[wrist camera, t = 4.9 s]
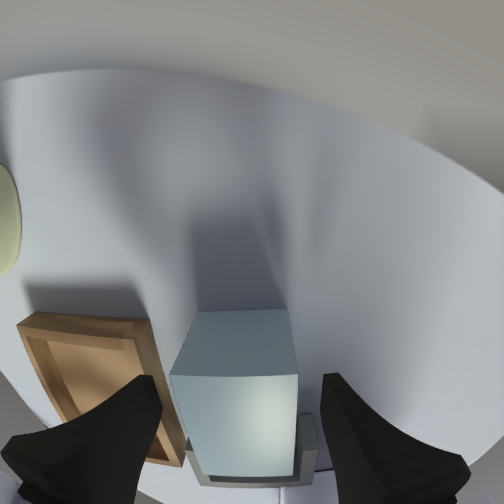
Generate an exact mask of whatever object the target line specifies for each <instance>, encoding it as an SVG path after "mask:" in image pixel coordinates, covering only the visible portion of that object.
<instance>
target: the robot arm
mask: <svg viewBox="0 0 504 504" xmlns="http://www.w3.org/2000/svg"><path fill="white" fill-rule="evenodd" d="M162 411H163V406H162V403H161V400H160V397H159V394H158V391H157V388H156V385H155V382H154V379H153V376H152V375H143V374H140V375H138V376H137V377H135V378H134V379H133V380H131V381H130V382H129V383H128V384H126V385H125V386H124V387H122V388H121V389H120V390H118V391H117V392H116V393H114V394H113V395H112V396H110V397H109V398H108V399H106V400H105V401H103V402H102V403H100V404H99V405H97V406H96V407H94V408H93V409H91V410H90V411H88V412H86V413H84V414H83V415H81V416H79V417H77V418H75V419H73V420H71V421H68V422H66V423H63V424H61V425H58V426H56V427H53V428H50V429H47V430H43V431H39V432H35V433H30V434H23V435H16V436H12V438H11V439H10V440H9V442H8V443H7V444H6V446H5V447H4V448H3V449H2V451H1V452H0V453H1V456H2V458H3V459H4V461H5V462H6V463H7V464H8V466H9V467H10V468H11V469H12V470H13V471H14V472H15V473H16V474H17V475H18V476H19V477H20V478H21V479H22V481H24V482H23V483H22V485H20V484H19V483H18V482H17V481H15V480H14V479H12V478H11V477H10V476H8V475H7V474H5V473H4V472H2V471H0V504H134V500H135V495H136V490H137V485H138V481H139V477H140V473H141V470H142V467H143V464H144V461H145V459H146V456H147V454H148V452H149V449H150V447H151V444H152V442H153V440H154V437H155V435H156V432H157V430H158V427H159V424H160V420H161V416H162ZM320 412H321V419H322V426H323V431H324V434H325V438H326V442H327V445H328V449H329V453H330V456H331V460H332V464H333V467H334V470H330V471H323V472H315V473H314V477H313V482H312V485H307V486H297V487H282V488H280V504H456V503H457V499H456V497H455V495H456V493H457V492H458V491H459V490H460V489H461V488H462V487H463V486H464V485H465V484H466V483H467V481H468V480H469V478H470V476H471V472H470V470H469V468H468V466H467V464H466V462H465V461H464V459H463V458H462V456H461V455H458V454H455V453H451V452H448V451H444V450H441V449H438V448H435V447H433V446H430V445H428V444H425V443H423V442H421V441H419V440H417V439H415V438H413V437H411V436H409V435H407V434H406V433H404V432H402V431H401V430H399V429H397V428H396V427H394V426H393V425H392V424H390V423H389V422H387V421H386V420H385V419H384V418H382V417H381V416H380V415H379V414H378V413H376V412H375V411H374V410H373V409H372V408H371V407H370V406H369V405H368V404H367V403H366V402H365V401H364V400H363V399H362V398H361V397H360V396H359V395H358V394H357V393H356V392H355V391H354V390H353V389H352V388H351V387H350V386H349V384H348V383H347V382H346V381H345V380H344V378H343V377H342V376H341V375H340V374H339V373H330V374H323V384H322V394H321V403H320ZM467 504H493V502H492V500H491V498H490V496H489V495H488V493H484V494H482V495H481V496H479V497H477V498H476V499H474V500H472V501H470V502H468V503H467Z"/></svg>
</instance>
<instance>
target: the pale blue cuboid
mask: <svg viewBox="0 0 504 504" xmlns="http://www.w3.org/2000/svg"><path fill="white" fill-rule="evenodd" d="M169 377H170V380H171V384H172V387H173V391H174V394H175V397H176V400H177V404H178V407H179V410H180V413H181V416H182V419H183V422H184V425H185V428H186V431H187V433H188V436H189V439H190V442H191V445H192V447H193V450H194V452H195V455H196V458H197V460H198V463H199V465H200V468H201V470H202V473H203V474H204V475H217V476H238V477H269V476H290V475H293V463H294V449H295V433H296V415H297V391H298V371H297V364H296V358H295V352H294V346H293V340H292V334H291V328H290V322H289V316H288V310H287V308H283V309H264V310H239V311H199V312H198V314H197V316H196V318H195V320H194V322H193V324H192V327H191V329H190V331H189V333H188V335H187V337H186V339H185V341H184V343H183V345H182V348H181V350H180V352H179V354H178V356H177V358H176V360H175V363H174V365H173V367H172V369H171V371H170V373H169Z"/></svg>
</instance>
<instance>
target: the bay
mask: <svg viewBox="0 0 504 504" xmlns="http://www.w3.org/2000/svg"><path fill="white" fill-rule="evenodd" d="M318 451H319V448H318V442H317V436H316V430H315V425H314V419H313V414H302V415H299V418H298V434H297V448H295V449H294V463H293V475H290V476H269V477H238V476H217V475H204V474H203V473H202V470H201V468H200V465H199V463H198V460H197V458H196V455H195V452H194V450H193V447H192V445H191V442H190V439H189V436H188V439H187V443H186V446H185V453H186V455H187V457H188V460H189V462H190V464H191V467H192V469H193V471H194V473H195V475H196V478H197V480H198V482H199V484H200V486H211V487H225V488H282V487H297V486H307V485H312V482H313V477H314V472H315V467H316V462H317V457H318Z"/></svg>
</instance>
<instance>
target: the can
mask: <svg viewBox="0 0 504 504" xmlns="http://www.w3.org/2000/svg"><path fill="white" fill-rule="evenodd" d="M21 231H22V223H21V210H20V203H19V198H18V194H17V190H16V187H15V184H14V181H13V179H12V177H11V175H10V174H9V172H8V171H7V169H6V168H5V167H4V166H3V165H1V164H0V275H3V274H5V273H7V272H8V271H10V270H11V268H12V267H13V266H14V264H15V262H16V260H17V257H18V254H19V249H20V244H21Z"/></svg>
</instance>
